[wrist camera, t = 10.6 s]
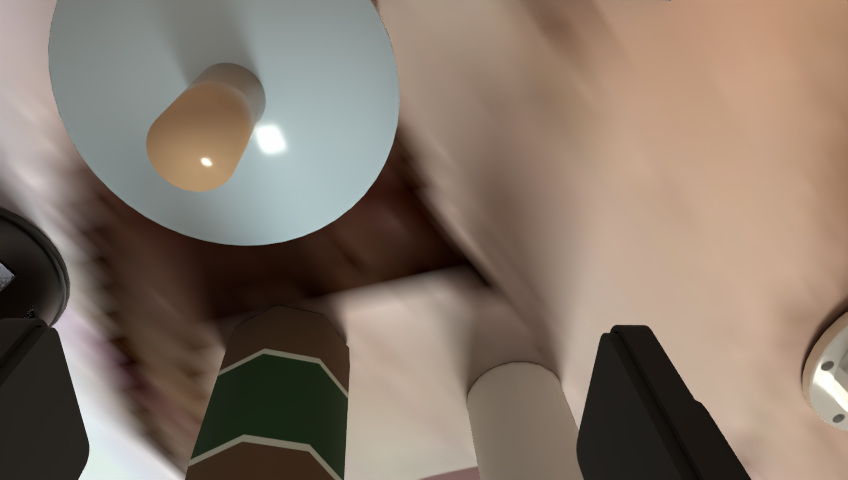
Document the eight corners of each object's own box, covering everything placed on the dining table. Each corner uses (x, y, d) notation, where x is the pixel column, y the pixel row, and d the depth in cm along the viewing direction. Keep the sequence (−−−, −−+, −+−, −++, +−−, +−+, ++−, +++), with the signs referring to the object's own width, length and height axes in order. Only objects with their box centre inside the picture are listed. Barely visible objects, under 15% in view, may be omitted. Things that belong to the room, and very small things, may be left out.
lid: (405, -83, 23) (416, -77, 17) (393, 239, 29) (399, 325, 24) (17, -107, 22) (-116, -108, 16) (95, 234, 28) (21, 325, 22)
